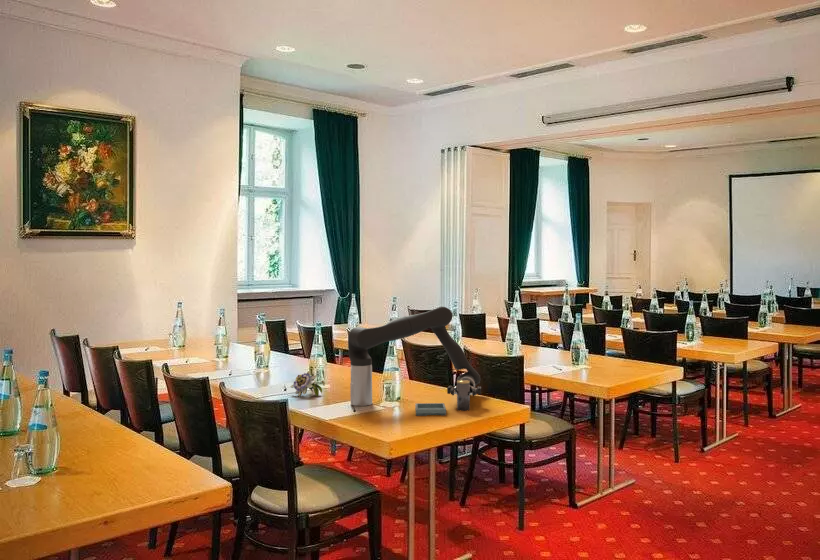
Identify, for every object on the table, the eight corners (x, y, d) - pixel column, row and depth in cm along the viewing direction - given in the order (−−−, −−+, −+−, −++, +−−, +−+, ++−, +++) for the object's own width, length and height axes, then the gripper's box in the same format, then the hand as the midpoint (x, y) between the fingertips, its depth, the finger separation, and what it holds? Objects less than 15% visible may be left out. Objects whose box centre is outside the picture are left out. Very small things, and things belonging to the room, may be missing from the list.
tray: (416, 415, 290) (416, 409, 290) (415, 409, 302) (415, 403, 302) (446, 415, 290) (446, 409, 290) (444, 409, 302) (444, 403, 302)
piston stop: (457, 410, 298) (457, 381, 298) (456, 408, 304) (456, 379, 303) (470, 410, 298) (470, 381, 298) (469, 408, 304) (468, 379, 303)
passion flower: (300, 409, 332) (283, 385, 333) (315, 399, 342) (299, 376, 344) (316, 396, 325) (299, 372, 327) (332, 387, 336) (315, 363, 337)
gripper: (449, 377, 317) (445, 383, 301) (482, 378, 314) (480, 384, 298) (449, 394, 317) (446, 401, 301) (482, 395, 315) (480, 402, 299)
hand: (463, 393), depth 300 cm, fingers open, 8 cm apart
